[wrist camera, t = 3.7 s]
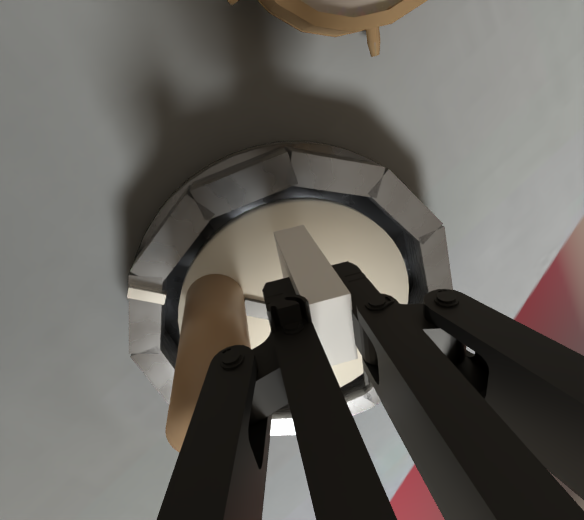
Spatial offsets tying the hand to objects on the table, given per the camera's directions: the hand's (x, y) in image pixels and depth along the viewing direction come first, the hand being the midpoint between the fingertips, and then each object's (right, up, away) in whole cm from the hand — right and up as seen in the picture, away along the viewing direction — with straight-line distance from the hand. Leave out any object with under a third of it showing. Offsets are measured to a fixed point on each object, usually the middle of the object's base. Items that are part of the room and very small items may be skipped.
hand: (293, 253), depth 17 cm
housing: (0, -3, +6) cm, 7 cm away
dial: (0, -3, +5) cm, 6 cm away
